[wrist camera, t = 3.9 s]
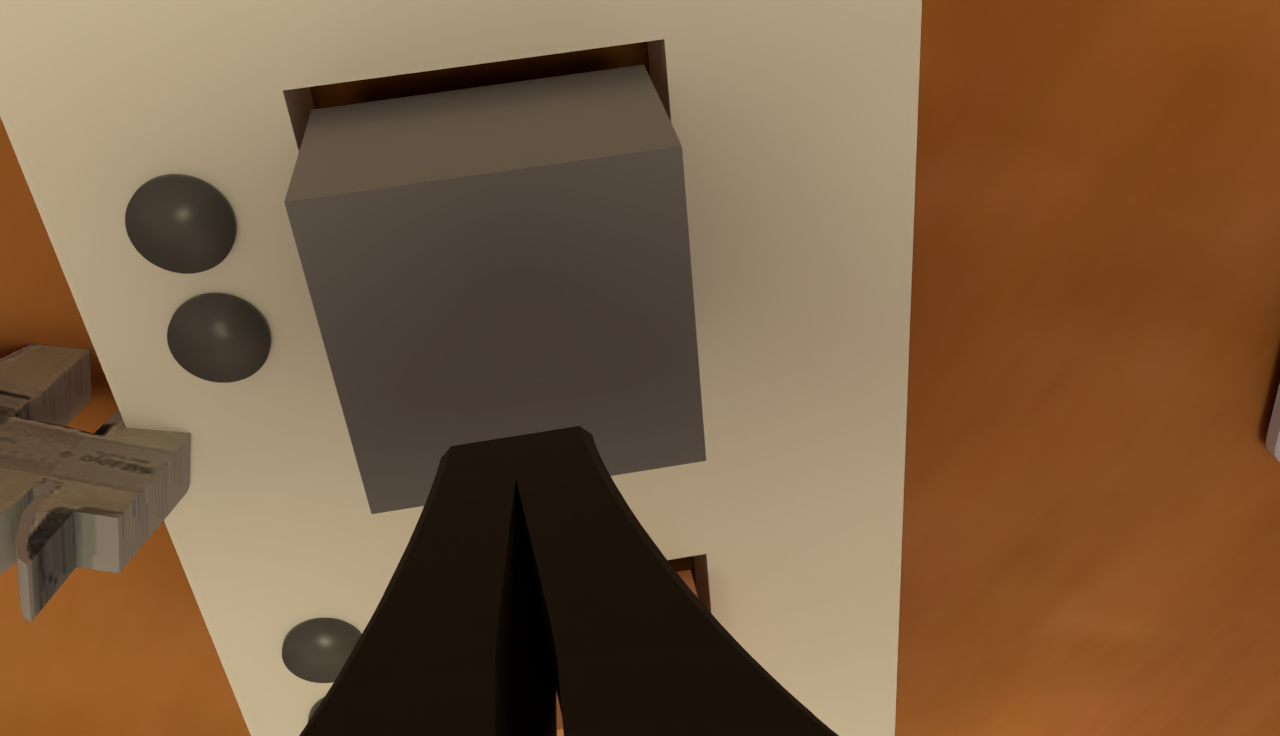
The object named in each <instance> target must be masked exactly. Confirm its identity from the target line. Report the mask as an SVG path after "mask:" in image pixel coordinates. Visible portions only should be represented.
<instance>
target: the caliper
mask: <svg viewBox="0 0 1280 736" xmlns="http://www.w3.org/2000/svg"><path fill="white" fill-rule="evenodd" d="M91 400H92V393H91V359H90V350H88V349H78V348H69V347H59V346H49V345H39V344H30V345H28V346H26V347H24V348H22V349H20V350H18V351H15V352H13V353H11V354H9V355H7V356H5V357H3V358H1V359H0V574H2V573H3V572H5V571H6V570H7V569H9V568H10V567H11V566H13V565H14V564H15V563H16V562H17V570H18V583H19V597H20V605H21V613H22V616H23V617H25V618H26V619H27V620H29V621H30V622H32V621H33V619H34V618H35V617H36V616H37V614H38V613H39V612H40V611H41V610H42V608H43V607H44V606H45V605H46V603H47V602H48V601H49V600H50V599H51V597H52V596H53V595H54V594H55V592H56V591H57V590H58V589H59V587H60V586H61V585H62V584H63V583H64V581H65V580H66V579H67V578H68V576H69V575H70V574H71V573H72V572H73V570H74V569H75V568H76V567H80V568H86V569H93V570H100V571H107V572H113V573H120V572H121V571H122V569H123V568H124V567H125V566H126V565H127V564H128V562H129V561H130V560H131V559H132V558H133V556H134V555H135V554H136V553H137V552H138V551H139V549H140V548H141V547H142V546H143V545H144V543H145V542H146V541H147V540H148V539H149V537H150V536H151V535H152V534H153V533H154V532H155V530H156V529H157V528H158V527H159V526H160V524H161V523H162V522H163V521H164V520H165V518H166V517H167V516H168V515H169V514H170V512H171V511H172V510H173V509H174V508H175V506H176V505H177V504H178V503H179V502H180V500H181V499H182V498H183V497H184V496H185V494H186V493H187V492H188V489H189V485H190V445H191V433H182V432H171V431H160V430H149V429H137V428H126V426H125V423H124V421H123V418H122V416H121V413H120V411H119V410H118V411H117V412H116V413H115V414H114V415H113V416H112V417H111V418H110V419H109V420H108V421H106V422H105V423H104V424H103V425H102V426H101V427H100V428H99V429H98V430H97V431H96V432H95V433H94V434H93V433H89V432H85V431H81V430H78V429H74V428H70V427H66V425H67V424H68V423H69V422H70V421H71V420H72V419H73V418H74V417H75V416H76V415H77V414H78V413H79V412H80V411H81V410H82V409H83V408H84V407H85V406H86V405H87V404H88V403H89V402H90V401H91Z"/></svg>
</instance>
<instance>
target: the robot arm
mask: <svg viewBox="0 0 1280 736" xmlns="http://www.w3.org/2000/svg"><path fill="white" fill-rule="evenodd" d="M1266 448H1267V449H1268V451H1269V452H1270V453H1271V454H1272V455H1273V456H1274V457H1275V458H1276V459H1277V460H1278V461H1279V462H1280V383H1279V387H1278V391H1277V396H1276V400H1275V404H1274V408H1273V412H1272V416H1271V420H1270V424H1269V429H1268V433H1267V437H1266ZM556 691H557V696H558V700H559V705H560V710H561V714H562V721H563V732H564V736H839V735H838V734H836V733H835V732H834V731H832V730H831V729H830V728H829V727H828V726H826V725H825V724H824V723H823V722H822V721H821V720H820V719H818V718H817V717H816V716H815V715H814V714H813V713H812V712H811V711H809V710H808V709H807V708H806V707H805V706H804V705H803V704H802V703H801V702H799V701H798V700H797V699H796V698H795V697H794V696H793V695H792V694H790V693H789V692H788V691H787V690H786V689H785V688H784V687H783V686H782V685H781V684H780V683H779V682H778V681H776V680H775V679H774V678H773V677H772V676H771V675H770V674H769V673H768V672H767V671H766V670H765V669H764V668H763V667H762V666H761V665H760V664H759V663H758V662H757V661H756V660H755V659H754V658H753V657H752V656H751V655H750V654H749V653H748V652H747V651H746V650H745V649H744V648H743V647H742V646H741V645H740V644H739V643H738V642H737V641H736V640H735V639H734V638H733V637H732V636H731V634H730V633H729V632H728V631H727V630H726V629H725V628H724V627H723V626H722V625H721V624H720V623H719V621H718V620H717V619H716V618H715V617H714V616H713V615H712V613H711V612H710V611H709V610H708V609H707V608H706V607H705V605H704V604H703V603H702V602H701V601H700V600H699V598H698V597H697V596H696V595H695V594H694V593H693V592H692V590H691V589H690V588H689V587H688V586H687V584H686V583H685V582H684V581H683V579H682V578H681V577H680V576H679V574H678V573H677V572H676V571H675V569H674V568H673V567H672V566H671V564H670V563H669V562H668V560H667V559H666V558H665V556H664V555H663V554H662V552H661V551H660V550H659V548H658V547H657V546H656V544H655V543H654V541H653V540H652V539H651V537H650V536H649V535H648V533H647V532H646V531H645V529H644V528H643V527H642V525H641V524H640V522H639V521H638V519H637V518H636V516H635V515H634V513H633V512H632V510H631V509H630V507H629V506H628V504H627V503H626V501H625V499H624V498H623V496H622V494H621V493H620V491H619V490H618V488H617V486H616V485H615V483H614V481H613V480H612V478H611V476H610V474H609V472H608V471H607V469H606V467H605V465H604V463H603V461H602V459H601V456H600V454H599V452H598V450H597V447H596V445H595V442H594V439H593V435H592V434H591V433H589V432H588V431H586V430H585V429H583V428H582V427H580V426H576V427H569V428H563V429H556V430H550V431H544V432H537V433H531V434H525V435H518V436H512V437H506V438H499V439H493V440H487V441H480V442H474V443H467V444H461V445H455V446H451V447H450V448H449V449H448V450H447V451H446V453H445V454H444V455H443V456H442V457H441V460H440V463H439V466H438V470H437V473H436V476H435V479H434V481H433V484H432V487H431V490H430V492H429V495H428V498H427V500H426V503H425V505H424V508H423V510H422V513H421V515H420V517H419V520H418V522H417V524H416V527H415V529H414V531H413V534H412V536H411V538H410V541H409V543H408V545H407V547H406V549H405V551H404V553H403V555H402V557H401V559H400V562H399V564H398V566H397V568H396V570H395V572H394V574H393V576H392V578H391V580H390V582H389V584H388V586H387V588H386V590H385V592H384V594H383V596H382V598H381V600H380V602H379V604H378V606H377V608H376V610H375V612H374V614H373V615H372V617H371V619H370V621H369V622H368V624H367V626H366V628H365V629H364V631H363V633H362V635H361V636H360V638H359V640H358V642H357V643H356V645H355V647H354V649H353V650H352V652H351V654H350V656H349V657H348V659H347V661H346V663H345V664H344V666H343V668H342V670H341V671H340V673H339V675H338V677H337V678H336V680H335V681H334V683H333V685H332V686H331V688H330V689H329V691H328V693H327V694H326V696H325V697H324V699H323V700H322V702H321V704H320V705H319V707H318V708H317V710H316V711H315V713H314V714H313V716H312V717H311V719H310V720H309V722H308V723H307V725H306V726H305V728H304V729H303V731H302V732H301V734H300V735H299V736H557V705H556Z"/></svg>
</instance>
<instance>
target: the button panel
mask: <svg viewBox="0 0 1280 736" xmlns="http://www.w3.org/2000/svg"><path fill="white" fill-rule="evenodd" d="M921 14H922V0H0V117H1V119H2V122H3V124H4V127H5V129H6V132H7V134H8V137H9V139H10V142H11V144H12V147H13V149H14V151H15V154H16V156H17V159H18V161H19V164H20V166H21V169H22V171H23V174H24V176H25V179H26V181H27V184H28V186H29V189H30V191H31V193H32V196H33V198H34V201H35V203H36V206H37V208H38V211H39V213H40V216H41V218H42V221H43V223H44V226H45V228H46V231H47V233H48V235H49V238H50V240H51V243H52V245H53V248H54V250H55V253H56V255H57V258H58V260H59V263H60V265H61V268H62V270H63V272H64V275H65V277H66V280H67V282H68V285H69V287H70V290H71V292H72V295H73V297H74V300H75V302H76V305H77V307H78V310H79V312H80V314H81V317H82V319H83V322H84V324H85V327H86V329H87V332H88V334H89V337H90V339H91V342H92V344H93V347H94V349H95V352H96V354H97V356H98V359H99V361H100V364H101V366H102V369H103V371H104V374H105V376H106V379H107V381H108V384H109V386H110V389H111V391H112V393H113V396H114V398H115V401H116V403H117V406H118V408H119V411H120V413H121V416H122V418H123V421H124V423H125V426H126V428H137V429H149V430H160V431H171V432H182V433H191V445H190V485H189V489H188V492H187V493H186V494H185V496H184V497H183V498H182V499H181V500H180V502H179V503H178V504H177V505H176V506H175V508H174V509H173V510H172V511H171V512H170V514H169V515H168V516H167V517H166V518H165V520H164V522H165V524H166V527H167V529H168V532H169V534H170V537H171V539H172V542H173V544H174V547H175V549H176V552H177V554H178V556H179V559H180V561H181V564H182V566H183V569H184V571H185V574H186V576H187V579H188V581H189V584H190V586H191V589H192V591H193V593H194V596H195V598H196V601H197V603H198V606H199V608H200V611H201V613H202V616H203V618H204V621H205V623H206V626H207V628H208V631H209V633H210V635H211V638H212V640H213V643H214V645H215V648H216V650H217V653H218V655H219V658H220V660H221V663H222V665H223V668H224V670H225V672H226V675H227V677H228V680H229V682H230V685H231V687H232V690H233V692H234V695H235V697H236V700H237V702H238V705H239V707H240V710H241V712H242V714H243V717H244V719H245V722H246V724H247V727H248V729H249V732H250V734H251V736H299V735H300V734H301V732H302V731H303V729H304V728H305V726H306V725H307V723H308V722H309V720H310V719H311V717H312V716H313V714H314V713H315V711H316V710H317V708H318V707H319V705H320V704H321V702H322V700H323V699H324V697H325V696H326V694H327V693H328V691H329V689H330V688H331V686H332V685H333V683H334V681H335V680H336V678H337V677H338V675H339V673H340V671H341V670H342V668H343V666H344V664H345V663H346V661H347V659H348V657H349V656H350V654H351V652H352V650H353V649H354V647H355V645H356V643H357V642H358V640H359V638H360V636H361V635H362V633H363V631H364V629H365V628H366V626H367V624H368V622H369V621H370V619H371V617H372V615H373V614H374V612H375V610H376V608H377V606H378V604H379V602H380V600H381V598H382V596H383V594H384V592H385V590H386V588H387V586H388V584H389V582H390V580H391V578H392V576H393V574H394V572H395V570H396V568H397V566H398V564H399V562H400V559H401V557H402V555H403V553H404V551H405V549H406V547H407V545H408V543H409V541H410V538H411V536H412V534H413V531H414V529H415V527H416V524H417V522H418V520H419V517H420V515H421V513H422V510H423V508H424V506H420V507H414V508H408V509H401V510H395V511H389V512H383V513H376V514H371V511H370V507H369V504H368V500H367V496H366V493H365V489H364V486H363V482H362V479H361V475H360V471H359V468H358V464H357V461H356V457H355V454H354V450H353V446H352V443H351V439H350V436H349V432H348V429H347V425H346V421H345V418H344V414H343V411H342V407H341V404H340V400H339V396H338V393H337V389H336V386H335V382H334V379H333V375H332V371H331V368H330V364H329V361H328V357H327V353H326V350H325V346H324V343H323V339H322V336H321V332H320V328H319V325H318V321H317V318H316V314H315V311H314V307H313V303H312V300H311V296H310V293H309V289H308V286H307V282H306V278H305V275H304V271H303V268H302V264H301V261H300V257H299V253H298V250H297V246H296V243H295V239H294V236H293V232H292V228H291V225H290V221H289V218H288V214H287V210H286V207H285V203H284V201H285V198H286V194H287V191H288V187H289V184H290V181H291V177H292V174H293V171H294V167H295V164H296V161H297V157H298V154H299V151H300V147H301V144H302V140H303V137H304V134H305V130H306V127H307V124H308V120H309V117H310V114H311V110H313V109H315V105H314V102H313V98H312V94H311V90H310V87H313V86H320V85H328V84H335V83H342V82H350V81H357V80H365V79H372V78H380V77H387V76H394V75H402V74H409V73H417V72H424V71H432V70H439V69H447V68H454V67H461V66H469V65H476V64H484V63H491V62H499V61H506V60H513V59H521V58H528V57H536V56H543V55H551V54H558V53H565V52H573V51H580V50H588V49H595V48H603V47H610V46H618V45H625V44H632V43H640V42H647V48H648V60H649V71H650V78H651V81H652V83H653V85H654V87H655V89H656V91H657V93H658V96H659V98H660V100H661V102H662V104H663V106H664V109H665V111H666V113H667V115H668V117H669V119H670V121H671V124H672V126H673V128H674V130H675V132H676V134H677V136H678V139H679V141H680V143H681V145H682V153H683V166H684V179H685V192H686V205H687V218H688V230H689V243H690V256H691V269H692V282H693V295H694V308H695V321H696V334H697V347H698V359H699V372H700V385H701V398H702V411H703V424H704V437H705V450H706V461H702V462H696V463H689V464H683V465H677V466H671V467H664V468H658V469H652V470H646V471H639V472H633V473H627V474H620V475H614V476H611V478H612V480H613V481H614V483H615V485H616V486H617V488H618V490H619V491H620V493H621V494H622V496H623V498H624V499H625V501H626V503H627V504H628V506H629V507H630V509H631V510H632V512H633V513H634V515H635V516H636V518H637V519H638V521H639V522H640V524H641V525H642V527H643V528H644V529H645V531H646V532H647V533H648V535H649V536H650V537H651V539H652V540H653V541H654V543H655V544H656V546H657V547H658V548H659V550H660V551H661V552H662V554H663V555H664V556H665V558H666V559H667V560H672V559H678V558H684V557H690V556H693V559H694V570H695V581H696V592H697V596H698V598H699V600H700V601H701V602H702V603H703V604H704V605H705V607H706V608H707V609H708V610H709V611H710V612H711V613H712V615H713V616H714V617H715V618H716V619H717V620H718V621H719V623H720V624H721V625H722V626H723V627H724V628H725V629H726V630H727V631H728V632H729V633H730V634H731V636H732V637H733V638H734V639H735V640H736V641H737V642H738V643H739V644H740V645H741V646H742V647H743V648H744V649H745V650H746V651H747V652H748V653H749V654H750V655H751V656H752V657H753V658H754V659H755V660H756V661H757V662H758V663H759V664H760V665H761V666H762V667H763V668H764V669H765V670H766V671H767V672H768V673H769V674H770V675H771V676H772V677H773V678H774V679H775V680H776V681H778V682H779V683H780V684H781V685H782V686H783V687H784V688H785V689H786V690H787V691H788V692H789V693H790V694H792V695H793V696H794V697H795V698H796V699H797V700H798V701H799V702H801V703H802V704H803V705H804V706H805V707H806V708H807V709H808V710H809V711H811V712H812V713H813V714H814V715H815V716H816V717H817V718H818V719H820V720H821V721H822V722H823V723H824V724H825V725H826V726H828V727H829V728H830V729H831V730H832V731H834V732H835V733H836V734H838V735H839V736H895V713H896V686H897V659H898V632H899V605H900V578H901V551H902V525H903V498H904V471H905V444H906V417H907V390H908V363H909V336H910V310H911V283H912V256H913V229H914V202H915V175H916V148H917V122H918V95H919V68H920V41H921Z"/></svg>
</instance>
